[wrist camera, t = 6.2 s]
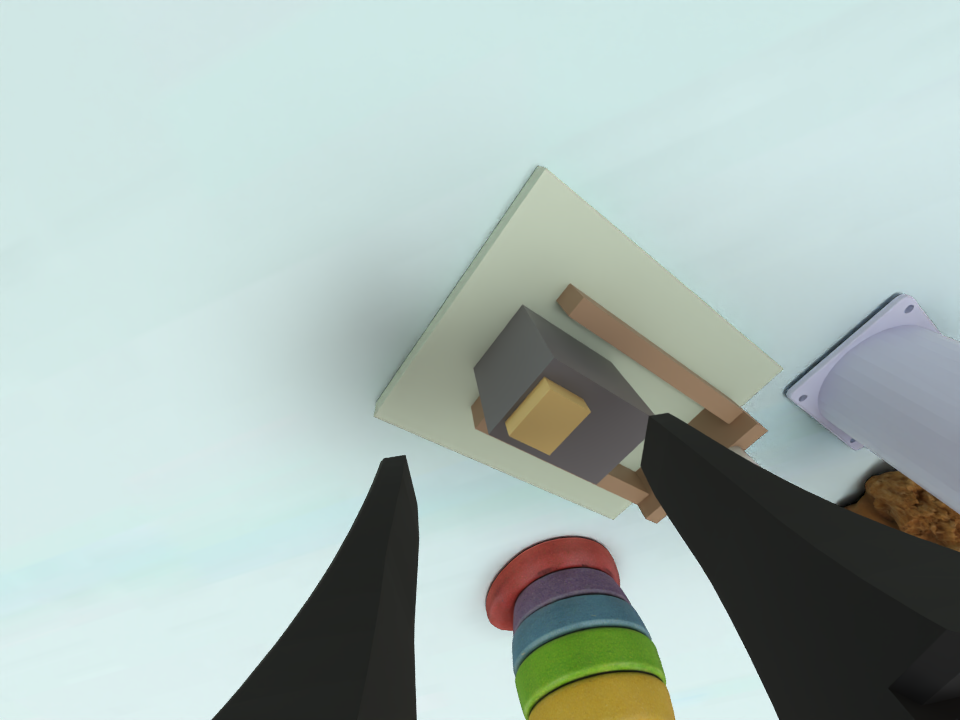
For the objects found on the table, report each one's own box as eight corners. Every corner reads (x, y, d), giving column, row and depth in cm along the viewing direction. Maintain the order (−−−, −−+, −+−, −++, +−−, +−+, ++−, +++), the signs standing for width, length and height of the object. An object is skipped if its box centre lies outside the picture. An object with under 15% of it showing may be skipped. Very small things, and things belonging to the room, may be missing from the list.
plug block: (611, 362, 21) (672, 435, 16) (561, 415, 22) (603, 499, 17) (522, 304, 18) (561, 369, 13) (473, 368, 20) (491, 448, 15)
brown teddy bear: (776, 564, 36) (940, 764, 25) (861, 444, 29) (1144, 646, 18) (870, 555, 37) (1065, 740, 26) (972, 439, 30) (1298, 623, 19)
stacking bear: (482, 616, 34) (536, 1023, 18) (494, 538, 29) (582, 1006, 13) (603, 604, 35) (745, 968, 20) (635, 529, 30) (855, 935, 15)
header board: (767, 358, 24) (861, 419, 19) (606, 505, 28) (646, 585, 23) (538, 165, 17) (589, 181, 12) (375, 402, 22) (363, 485, 17)
